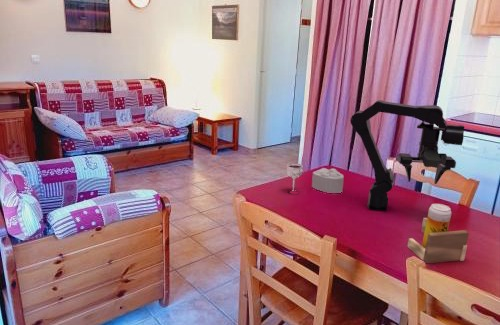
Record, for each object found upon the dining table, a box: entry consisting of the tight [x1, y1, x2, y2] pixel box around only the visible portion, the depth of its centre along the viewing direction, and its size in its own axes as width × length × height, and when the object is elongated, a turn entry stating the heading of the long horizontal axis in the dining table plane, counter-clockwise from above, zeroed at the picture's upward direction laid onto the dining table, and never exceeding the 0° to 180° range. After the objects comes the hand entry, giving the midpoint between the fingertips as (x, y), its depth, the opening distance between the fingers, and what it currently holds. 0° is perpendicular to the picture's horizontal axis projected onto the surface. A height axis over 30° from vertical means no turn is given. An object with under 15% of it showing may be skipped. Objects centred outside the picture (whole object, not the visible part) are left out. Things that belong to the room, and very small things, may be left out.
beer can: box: [421, 203, 452, 248], centre depth 117 cm, size 6×6×15 cm
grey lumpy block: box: [311, 167, 345, 194], centre depth 167 cm, size 10×13×9 cm
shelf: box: [407, 217, 470, 264], centre depth 121 cm, size 19×12×9 cm, turn 12°
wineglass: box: [286, 162, 304, 191], centre depth 162 cm, size 7×7×12 cm
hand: (422, 182), depth 141 cm, fingers open, 9 cm apart
